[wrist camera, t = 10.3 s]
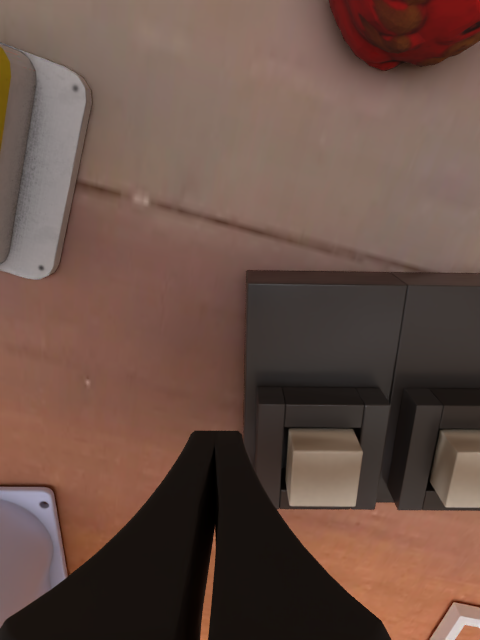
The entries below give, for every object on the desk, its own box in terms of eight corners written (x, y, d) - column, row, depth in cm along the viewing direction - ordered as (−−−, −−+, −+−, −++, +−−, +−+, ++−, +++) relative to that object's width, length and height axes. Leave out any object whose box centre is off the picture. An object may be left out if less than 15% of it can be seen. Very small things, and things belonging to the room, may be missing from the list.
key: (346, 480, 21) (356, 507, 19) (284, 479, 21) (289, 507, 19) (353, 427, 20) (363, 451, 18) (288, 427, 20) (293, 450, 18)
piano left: (361, 472, 25) (383, 527, 21) (241, 471, 25) (243, 526, 21) (389, 272, 21) (423, 295, 17) (246, 270, 21) (248, 293, 17)
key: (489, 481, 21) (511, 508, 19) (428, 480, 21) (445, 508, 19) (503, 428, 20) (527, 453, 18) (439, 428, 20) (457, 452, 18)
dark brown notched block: (480, 473, 25) (523, 527, 21) (361, 472, 25) (383, 527, 21) (531, 273, 21) (595, 297, 17) (389, 272, 21) (423, 295, 17)
